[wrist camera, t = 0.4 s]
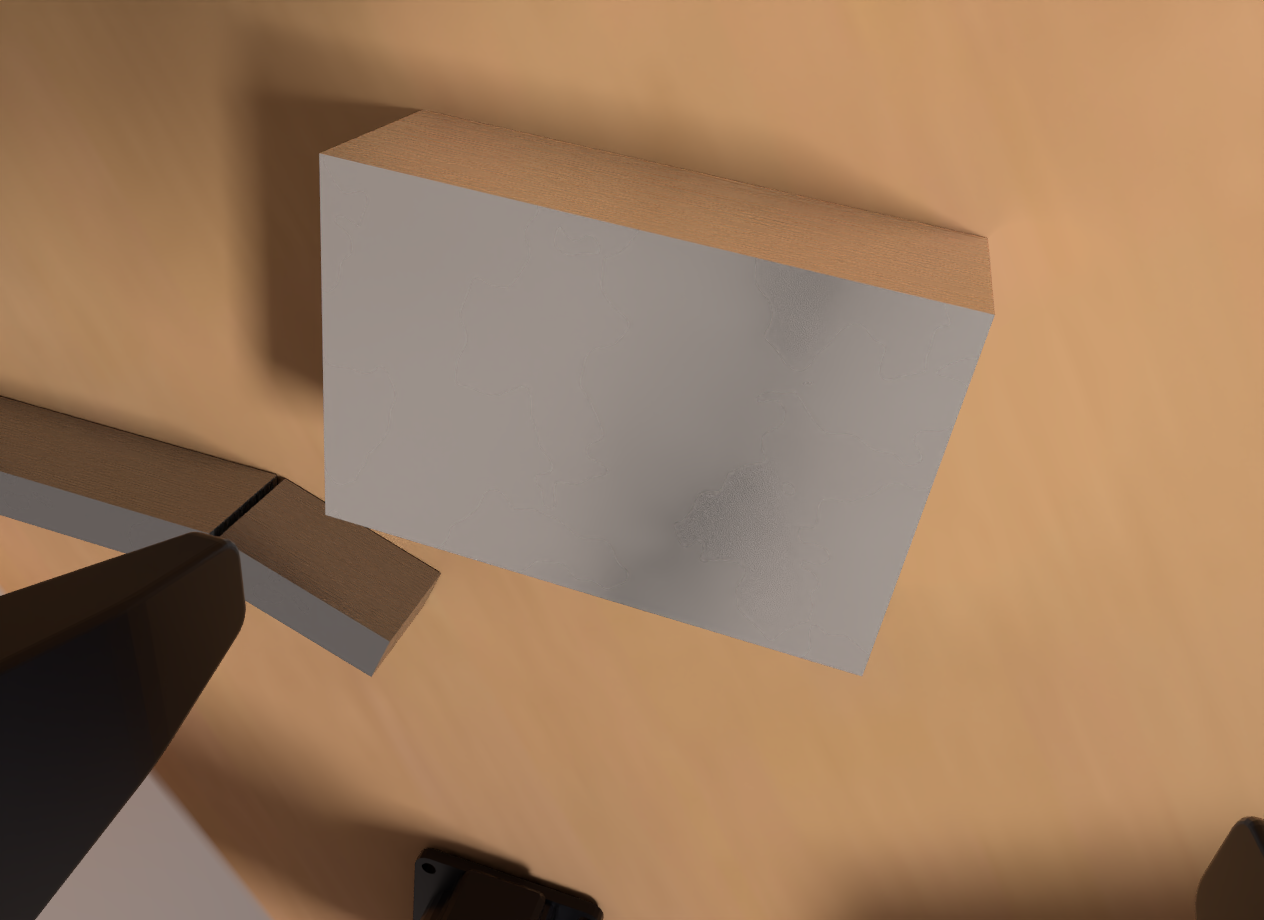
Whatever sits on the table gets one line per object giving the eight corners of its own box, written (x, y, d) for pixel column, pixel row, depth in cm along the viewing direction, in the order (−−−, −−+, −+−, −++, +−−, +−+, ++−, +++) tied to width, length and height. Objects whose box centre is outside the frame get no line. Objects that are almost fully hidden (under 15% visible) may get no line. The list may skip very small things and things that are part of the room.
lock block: (876, 553, 24) (862, 676, 20) (417, 423, 26) (325, 514, 22) (987, 233, 20) (994, 314, 16) (429, 106, 22) (319, 153, 18)
